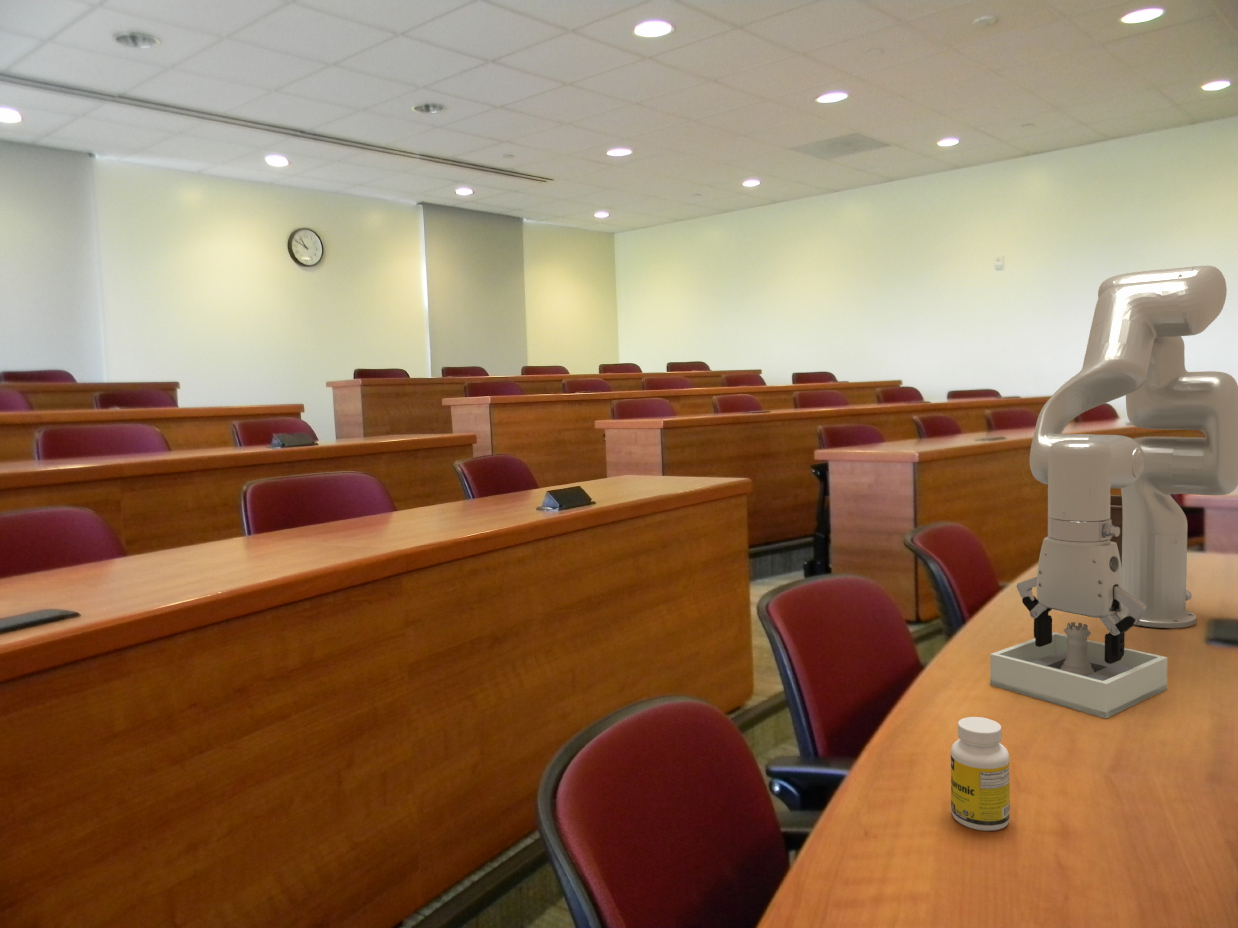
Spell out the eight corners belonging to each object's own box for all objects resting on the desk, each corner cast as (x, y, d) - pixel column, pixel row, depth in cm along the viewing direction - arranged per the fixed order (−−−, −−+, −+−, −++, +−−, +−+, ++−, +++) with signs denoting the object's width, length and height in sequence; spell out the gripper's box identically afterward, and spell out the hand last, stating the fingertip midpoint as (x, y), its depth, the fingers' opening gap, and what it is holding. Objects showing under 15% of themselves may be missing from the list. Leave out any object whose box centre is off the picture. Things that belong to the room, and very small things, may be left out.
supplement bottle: (941, 807, 90) (941, 715, 89) (992, 803, 90) (992, 711, 89) (966, 834, 84) (966, 736, 83) (1020, 830, 85) (1021, 732, 84)
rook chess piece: (1100, 687, 119) (1100, 629, 118) (1064, 686, 120) (1064, 629, 119) (1089, 675, 123) (1089, 620, 122) (1055, 675, 124) (1055, 620, 123)
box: (1052, 660, 132) (1053, 631, 132) (1166, 689, 119) (1167, 657, 119) (990, 684, 123) (990, 653, 123) (1105, 718, 110) (1106, 683, 110)
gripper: (1159, 534, 114) (1157, 662, 116) (1033, 520, 128) (1033, 633, 130) (1130, 542, 110) (1128, 674, 111) (1003, 526, 124) (1003, 644, 126)
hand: (1077, 652), depth 121 cm, fingers open, 9 cm apart
